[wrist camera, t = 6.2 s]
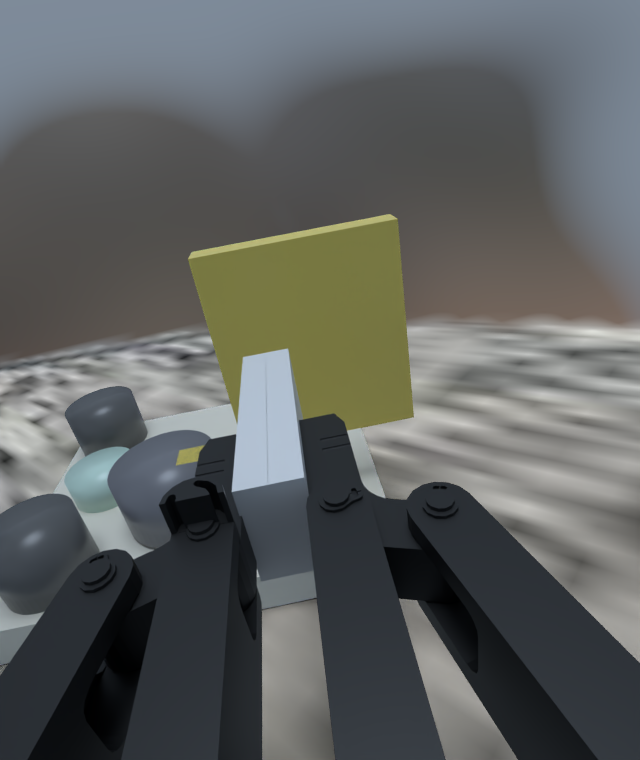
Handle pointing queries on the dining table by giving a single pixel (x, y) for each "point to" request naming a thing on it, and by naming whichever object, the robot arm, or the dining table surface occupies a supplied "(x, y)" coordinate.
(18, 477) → the dining table surface
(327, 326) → the yellow flat slab
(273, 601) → the base
